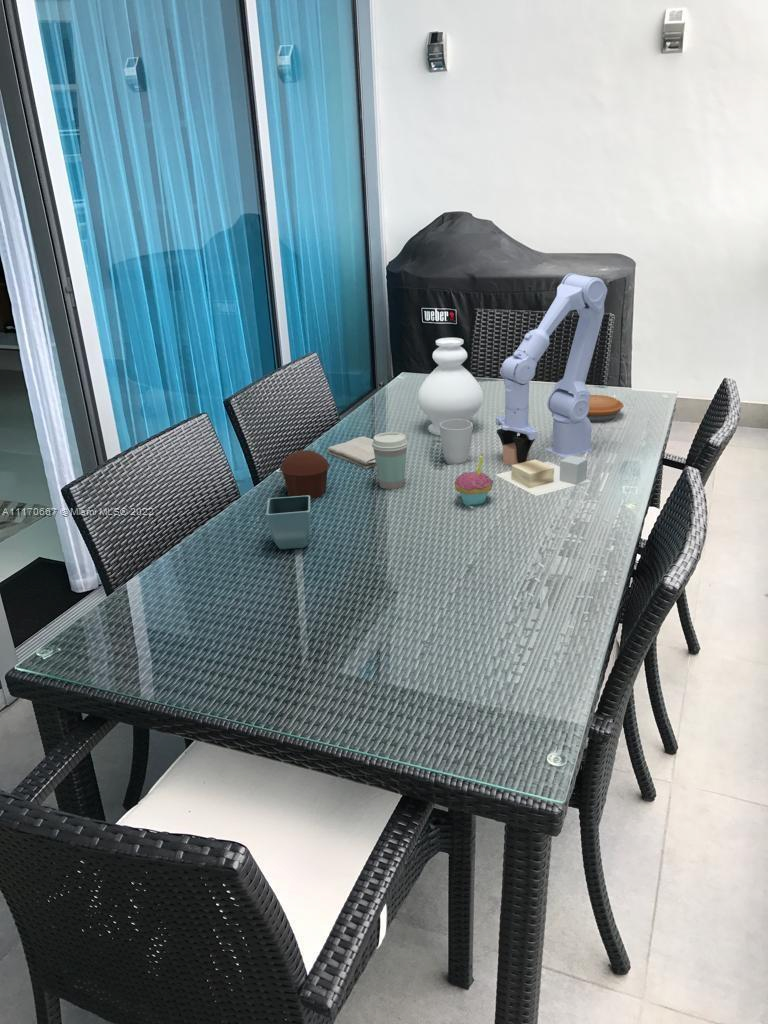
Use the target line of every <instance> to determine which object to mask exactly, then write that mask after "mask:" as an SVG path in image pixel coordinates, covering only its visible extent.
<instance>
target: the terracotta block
mask: <svg viewBox="0 0 768 1024" xmlns="http://www.w3.org/2000/svg"><path fill="white" fill-rule="evenodd" d="M529 453H530V452H529ZM529 453H528V456H527V460H526V462H527V461H530V460H529V459H530V458H529ZM502 462H503V463H504V464H507V465H508V466H510V467H512V465H515V464H519V463H518V462H517V451H516V446H515V442H514V443H510V444H506V445H502Z"/></svg>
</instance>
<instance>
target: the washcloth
mask: <svg viewBox="0 0 768 1024" xmlns="http://www.w3.org/2000/svg"><path fill="white" fill-rule="evenodd" d="M373 439H374V438H371V437H370V438H369V437H366V436H357V437H355V438H352V439H350V440H348V441H345V442H341V443H337V444H334V445H331V446H329V447H328V448H327V451H326V452H327V453H328V454H329V455H331V456H334V457H335V458H339V459H341V460H344V461H347V462H349V463H351V464H354V465H357V466H359V467H361V468H363V469H366V470H368V469H370V468H372V469H373V468H377V467H376V461H375V455H374V449H373V447H372V442H373Z"/></svg>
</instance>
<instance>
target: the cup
mask: <svg viewBox="0 0 768 1024" xmlns="http://www.w3.org/2000/svg"><path fill="white" fill-rule="evenodd" d="M472 425H473V422H472V421H471V420H470V421H467V420H460V419H454V420H447V421H443V422H441V423H440V435H441V436H440V442H441V443H440V444H441V447H442V452H443V456H444V460H445V462H446V464H447V465H449V466H451V465H458V464H464V463H466V462H467V461H468V458H469V455H470V453H471V452H470V451H471V445H472V438H473V437H472V435H473V430H472Z"/></svg>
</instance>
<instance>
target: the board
mask: <svg viewBox="0 0 768 1024" xmlns="http://www.w3.org/2000/svg"><path fill="white" fill-rule="evenodd" d="M543 463H544V464H547V465H549V466H551V467H553V468H554V482H552V483H548V484H544V485H540V486H537V487H533V488H528V487H526V486H524V485H522V484H520V483H518V482H516V481H514V480H512V479H511V473H512V470H509V471H505V472H501V473H497V474H495V476H496V477H499V478H500V479H502V480H505V481H506V482H508V483H509V484H512V485H514V486H516V487H518V488H520V489H522V490H524V491H526V492H528V493H529V494H531V495H533V496H535V497H538V496H543V495H546V494H550V493H553V492H557V491H560V490H563V489H568V488H572V487H575V486H580V485H583V484H586V483H590V482H591V479H588V478H586V479H585V480H584V481H582V482H580V483H579V484H577V485H575V484H571V483H567V482H563V481H560V465H558V464H555V463H552V462H551V461H545V462H543Z"/></svg>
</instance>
